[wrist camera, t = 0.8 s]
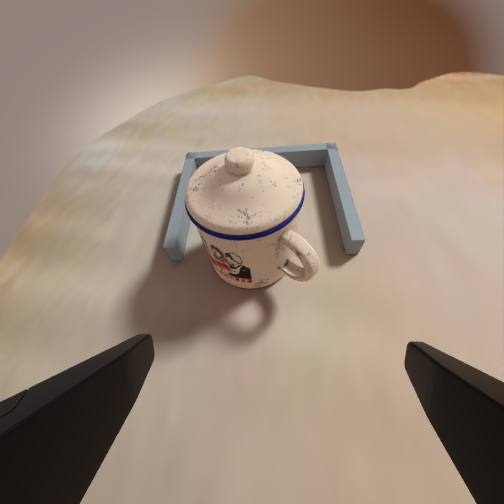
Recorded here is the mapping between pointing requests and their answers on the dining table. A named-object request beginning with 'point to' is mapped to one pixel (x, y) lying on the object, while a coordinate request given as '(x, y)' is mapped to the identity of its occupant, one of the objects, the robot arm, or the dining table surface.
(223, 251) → the teacup with lid
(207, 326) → the dining table surface
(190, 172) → the dock
